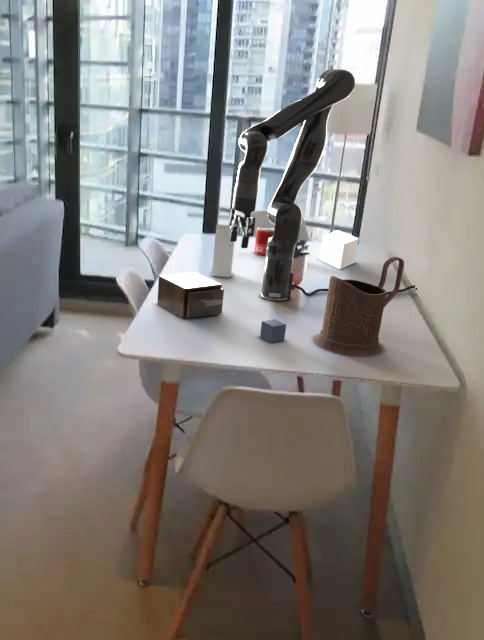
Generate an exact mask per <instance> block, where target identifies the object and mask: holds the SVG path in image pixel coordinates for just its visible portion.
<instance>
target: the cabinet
mask: <svg viewBox="0 0 484 640" xmlns="http://www.w3.org/2000/svg"><path fill="white" fill-rule="evenodd" d="M222 287H223V284H222V283H220V282H217V281H216V280H213V279H211V278H209V277H207V276H205V275H202V274H200V273H198V272H195V271H193V272H192V271H190V272H189V271H188V272H181V273H170V274H161V275H158V286H157V303H156V304H157V306H159V307H161V308H163V309H164V310H166V311H168V312H170V313H171V314H173V315H175V316H176V317H178V318H180V319H182V320H185V319H189V318H188V317H186V316H187V314H185V313H186V300H187V291H193V290H201V289H210V288H217V289H221V288H222ZM222 289H223V288H222ZM213 315H216V314H213ZM213 315H212V316H213ZM206 316H207V317H208V315H206ZM206 316H205V317H206ZM200 317H201V316H199V317H198V318H200ZM192 318H194V317H191V318H190V319H192Z"/></svg>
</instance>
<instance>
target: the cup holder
mask: <svg viewBox="0 0 484 640" xmlns="http://www.w3.org/2000/svg"><path fill="white" fill-rule="evenodd" d="M396 261H398V266H397V272H396V273H397V274H396V278H395V281H394V282H395V284H394V286H393V290H391V291H392V292H391V293H390V294H387V292H388V291H387V290H386V289H385V288H384V286H385V283H386V280H387V274H388V268H389V266H390V265H391V264H392V263H394V262H396ZM404 268H405V261H404V259H403V258H401V257H399V256H392V257H390V258H388V259H386V261H384V263H383V265H382V269H381V274H380V280H379V283H378V285H376V284H372V283H368V282H366V281H362V280H358V279H357V280H356V279H350V278H349V279H348V278H347V279H345V278H344V279H342V278H340V277H337V276H335V275H330V277H329V284H328V288H327V289H328V291H327V296H326V303H325V308H324V309H325V310H324V314H323V321H322V328H321V330H320V332H319V334H318V335H317V336H316V338H315V342H316V344H317V345H318V346H319V347H320V348H322V349H324V350H327V351H329V352H333V353H336V354H341V355H347V356H355V357H356V356H359V357H365V356H372V355H376V354H378V353H380V352H381V351H382V348H381V344H380V342H379V341H380V339H379V336H380V330H381V324H382V320H383V315H384V309H385V308H386V306H387V305H388V304H389V303H390V302H391V301H392V299H393V298H394V297H395V296H396V295H397V294H398V291H399V290H400V287H401V282H402V278H403V272H404Z"/></svg>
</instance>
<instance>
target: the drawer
mask: <svg viewBox="0 0 484 640" xmlns="http://www.w3.org/2000/svg"><path fill="white" fill-rule="evenodd" d="M224 294H225V289H224V288H221V289H217V288H210V289H201V290H193V291H187V300H186V313H185V314H187V316H186V317H188V318H187V319H192V318H191V317H193V318H200V317H206V315H207V316H213V314H215V315H220V314H222V313H223V303H224ZM199 316H200V317H199Z"/></svg>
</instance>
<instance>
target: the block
mask: <svg viewBox="0 0 484 640" xmlns="http://www.w3.org/2000/svg"><path fill="white" fill-rule="evenodd" d="M286 329H287V324H286V323H284V322H282V321H280V320H277V319H269V320H268V319H267V320H262V321H261V326H260V332H259V333H260V335H259V338H260V339H262V340H264V341H266V342H268V343H269V344H273V343H278V342H284V341H285V337H286Z"/></svg>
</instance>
